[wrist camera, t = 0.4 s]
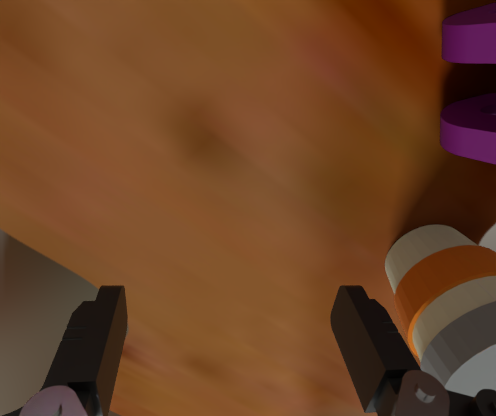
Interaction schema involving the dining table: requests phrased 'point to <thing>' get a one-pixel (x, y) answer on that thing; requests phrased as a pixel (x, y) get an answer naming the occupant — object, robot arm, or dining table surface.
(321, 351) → the dining table surface
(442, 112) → the mounting bracket
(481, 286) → the reusable coffee cup
